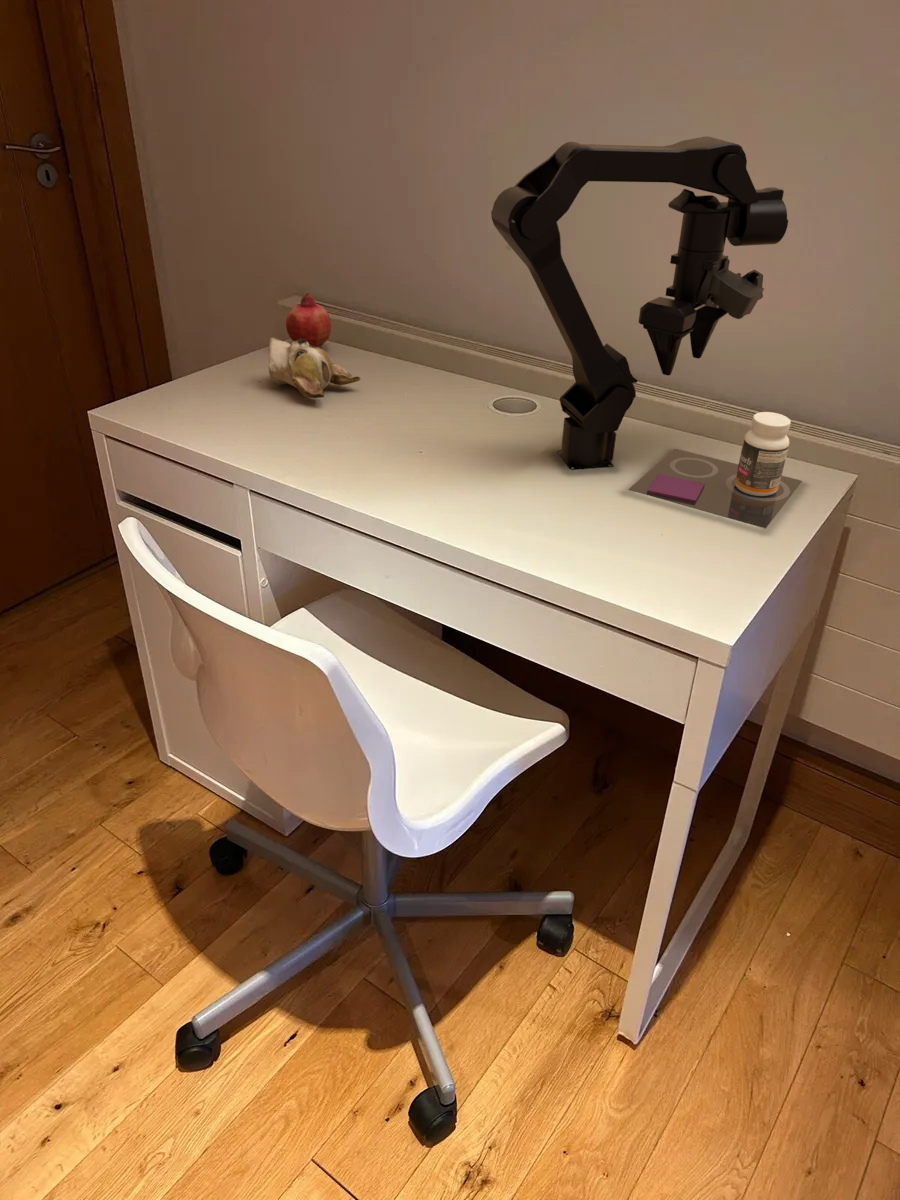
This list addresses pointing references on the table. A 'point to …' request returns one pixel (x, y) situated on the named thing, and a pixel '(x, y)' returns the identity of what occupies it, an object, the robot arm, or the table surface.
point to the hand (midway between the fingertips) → (681, 366)
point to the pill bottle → (763, 454)
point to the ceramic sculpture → (305, 367)
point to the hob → (718, 488)
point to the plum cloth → (676, 488)
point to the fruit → (309, 322)
